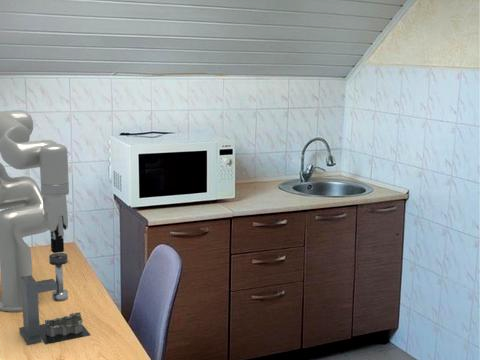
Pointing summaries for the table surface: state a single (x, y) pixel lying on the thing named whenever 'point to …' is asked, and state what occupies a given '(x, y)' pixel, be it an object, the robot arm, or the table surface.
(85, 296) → the table surface
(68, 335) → the press frame
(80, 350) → the table surface
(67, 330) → the egg carton
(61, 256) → the disc
